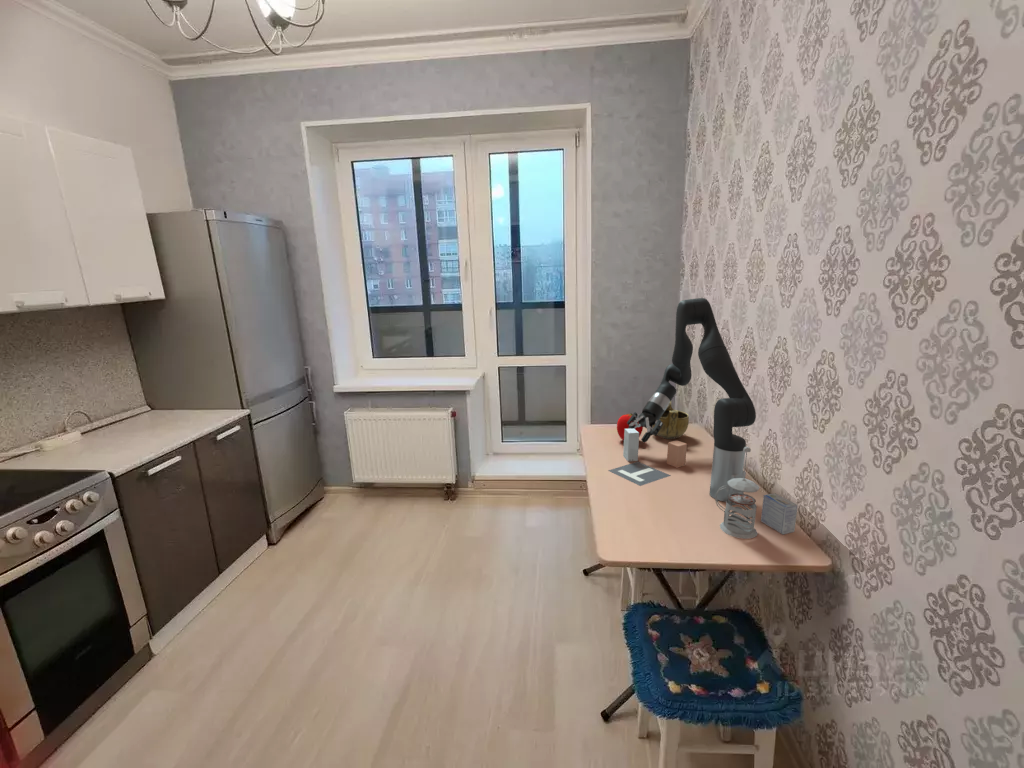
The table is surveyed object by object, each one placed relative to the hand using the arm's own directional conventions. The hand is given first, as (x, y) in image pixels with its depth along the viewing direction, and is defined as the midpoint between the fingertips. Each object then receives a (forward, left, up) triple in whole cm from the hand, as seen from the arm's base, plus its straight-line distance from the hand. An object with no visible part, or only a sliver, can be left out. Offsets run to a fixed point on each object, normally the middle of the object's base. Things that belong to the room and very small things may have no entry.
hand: (634, 438), depth 185 cm
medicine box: (-60, +5, -9) cm, 61 cm away
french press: (-54, +16, -9) cm, 57 cm away
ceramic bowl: (+10, -32, -9) cm, 35 cm away
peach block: (-14, -8, -8) cm, 18 cm away
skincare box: (0, +2, -9) cm, 9 cm away
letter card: (-12, +10, -8) cm, 18 cm away
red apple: (+15, -13, -9) cm, 22 cm away
